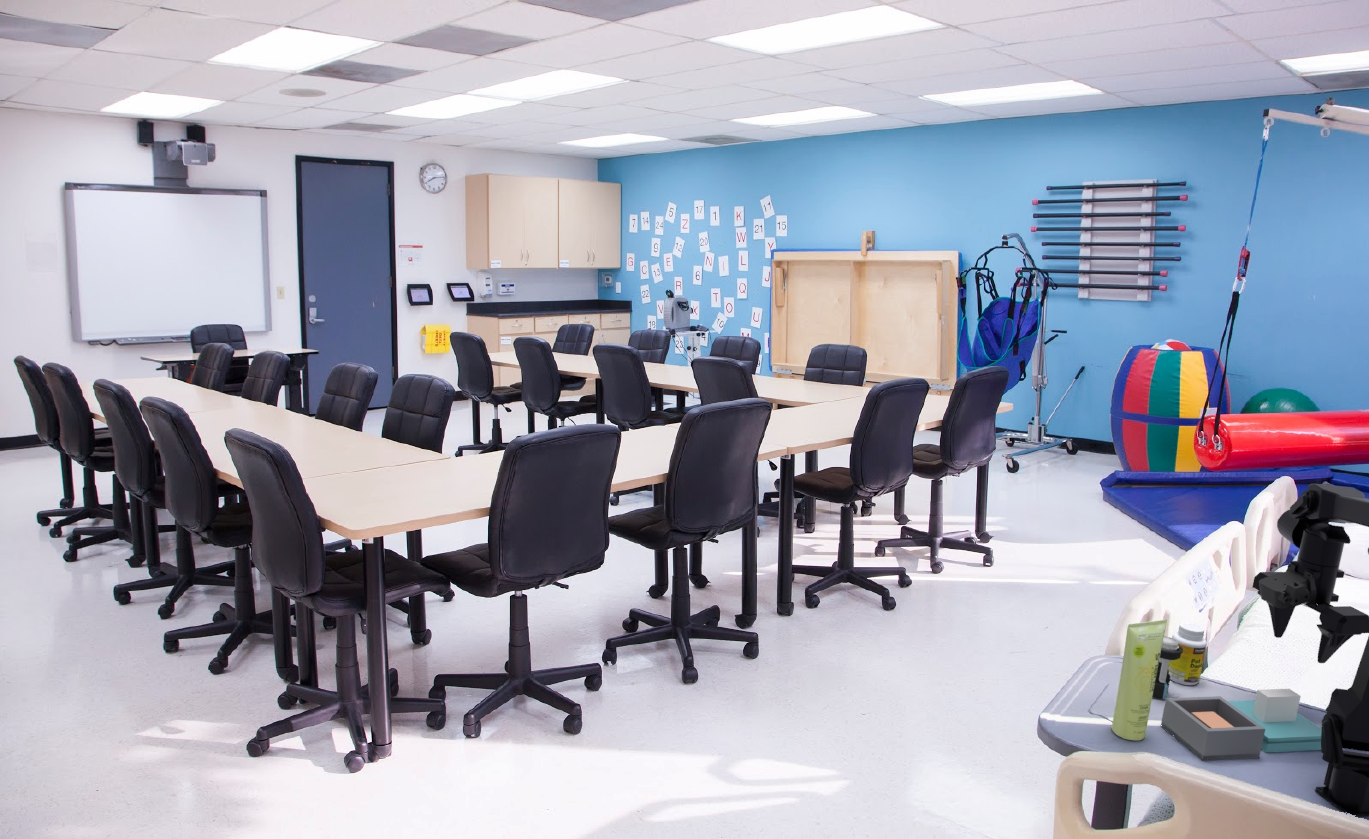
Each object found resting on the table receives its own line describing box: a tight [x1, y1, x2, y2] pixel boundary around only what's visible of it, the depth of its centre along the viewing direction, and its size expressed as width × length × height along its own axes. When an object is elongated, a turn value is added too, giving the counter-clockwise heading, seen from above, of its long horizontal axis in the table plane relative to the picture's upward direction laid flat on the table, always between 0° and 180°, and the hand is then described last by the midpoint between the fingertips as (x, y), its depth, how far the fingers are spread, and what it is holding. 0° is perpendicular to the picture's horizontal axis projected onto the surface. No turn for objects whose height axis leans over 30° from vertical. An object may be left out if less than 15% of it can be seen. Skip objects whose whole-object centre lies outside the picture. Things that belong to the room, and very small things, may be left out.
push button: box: [1152, 635, 1183, 701], centre depth 171 cm, size 7×5×10 cm
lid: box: [1227, 688, 1322, 754], centre depth 160 cm, size 11×11×7 cm
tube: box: [1111, 618, 1167, 741], centre depth 155 cm, size 6×5×20 cm
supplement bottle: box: [1168, 622, 1208, 686], centre depth 177 cm, size 6×6×10 cm
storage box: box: [1160, 695, 1265, 762], centre depth 156 cm, size 10×10×5 cm
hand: (1298, 649), depth 162 cm, fingers open, 9 cm apart
